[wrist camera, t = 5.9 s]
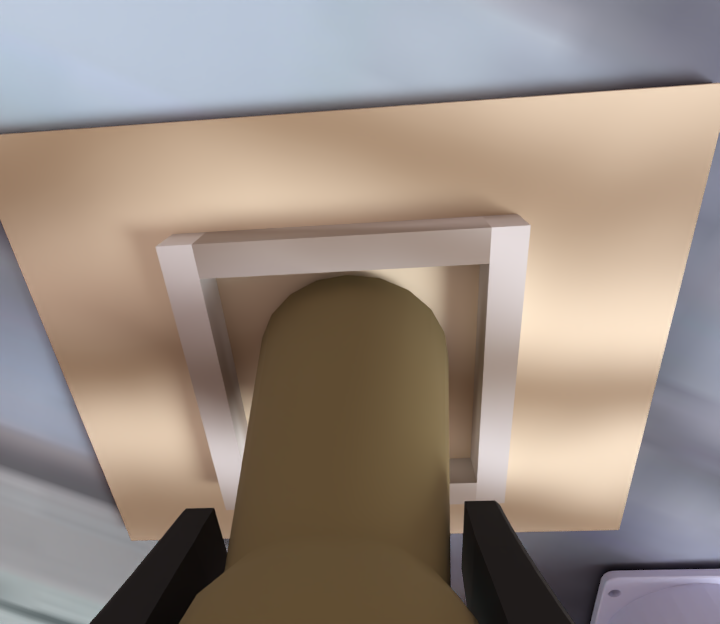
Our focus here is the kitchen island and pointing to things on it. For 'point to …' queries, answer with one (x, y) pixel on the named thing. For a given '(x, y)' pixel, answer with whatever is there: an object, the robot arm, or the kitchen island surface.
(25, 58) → the kitchen island surface
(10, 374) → the kitchen island surface
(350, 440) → the cork
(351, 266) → the socket board
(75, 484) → the kitchen island surface
